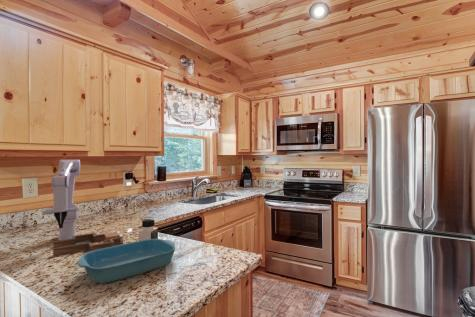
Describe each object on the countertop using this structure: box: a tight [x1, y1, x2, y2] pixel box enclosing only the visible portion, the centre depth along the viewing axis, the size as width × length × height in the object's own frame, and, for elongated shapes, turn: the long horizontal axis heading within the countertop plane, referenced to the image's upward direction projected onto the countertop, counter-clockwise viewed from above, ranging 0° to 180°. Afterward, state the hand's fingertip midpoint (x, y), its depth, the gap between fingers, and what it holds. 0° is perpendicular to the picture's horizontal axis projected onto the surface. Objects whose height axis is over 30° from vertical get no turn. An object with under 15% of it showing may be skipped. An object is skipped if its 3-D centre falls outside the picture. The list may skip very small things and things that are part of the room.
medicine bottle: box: [137, 218, 159, 241], centre depth 133 cm, size 7×7×12 cm
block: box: [104, 231, 119, 243], centre depth 134 cm, size 6×6×4 cm
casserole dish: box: [76, 238, 176, 284], centre depth 103 cm, size 37×22×7 cm, turn 132°
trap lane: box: [52, 230, 124, 256], centre depth 129 cm, size 22×29×4 cm
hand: (60, 227), depth 127 cm, fingers closed
